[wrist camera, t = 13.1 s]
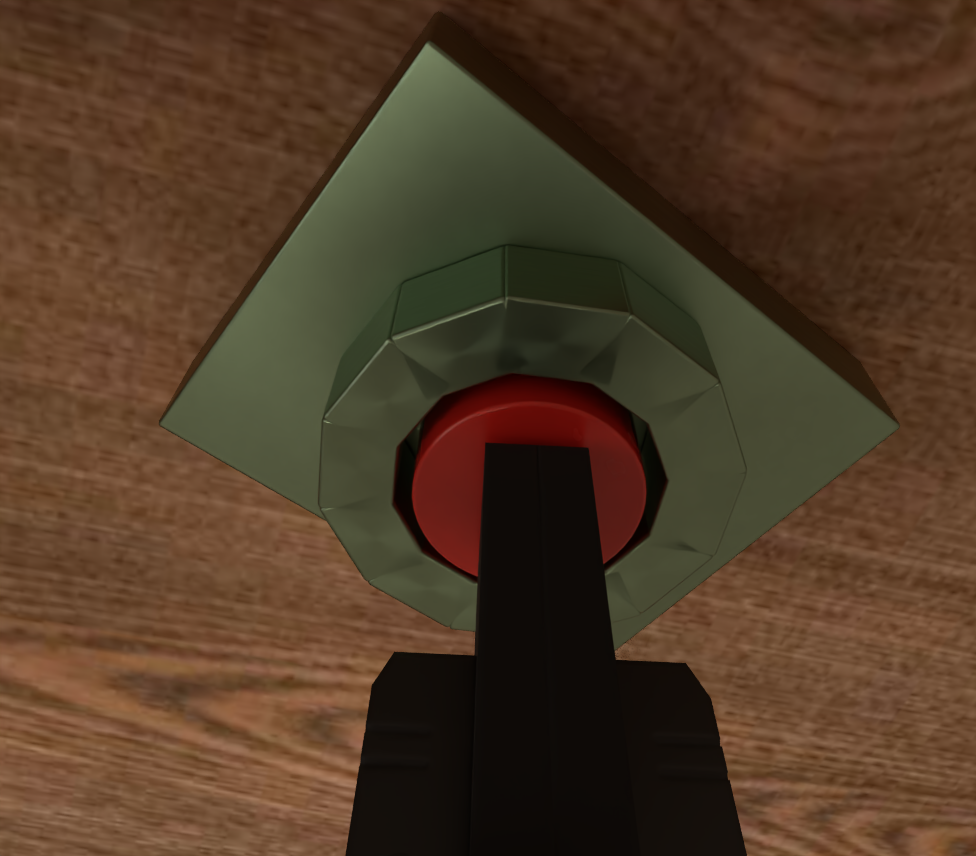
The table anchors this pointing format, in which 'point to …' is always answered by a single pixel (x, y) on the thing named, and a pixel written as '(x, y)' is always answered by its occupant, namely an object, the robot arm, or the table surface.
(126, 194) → the table surface
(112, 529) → the table surface
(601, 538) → the button
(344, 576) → the table surface
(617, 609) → the button box
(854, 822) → the table surface
